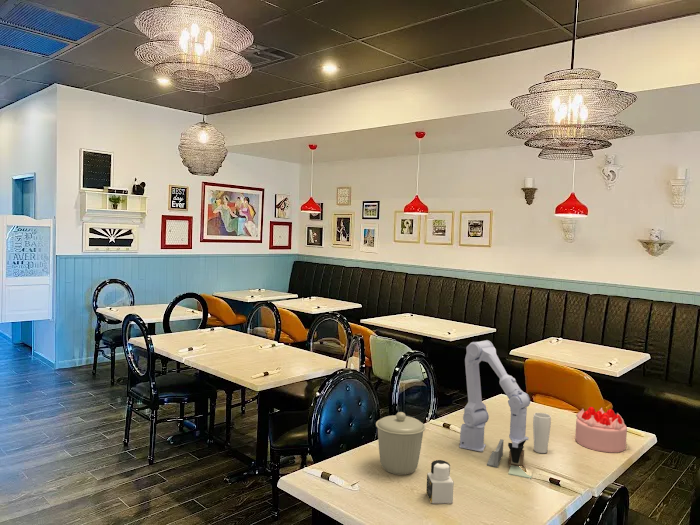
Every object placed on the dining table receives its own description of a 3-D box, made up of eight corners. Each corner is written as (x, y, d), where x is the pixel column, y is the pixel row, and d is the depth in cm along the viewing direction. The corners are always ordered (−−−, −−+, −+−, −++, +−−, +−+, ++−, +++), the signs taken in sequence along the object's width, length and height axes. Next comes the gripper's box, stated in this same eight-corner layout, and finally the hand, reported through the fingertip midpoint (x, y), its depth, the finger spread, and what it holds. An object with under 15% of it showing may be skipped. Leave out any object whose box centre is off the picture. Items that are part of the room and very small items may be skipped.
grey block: (486, 465, 201) (487, 449, 201) (492, 452, 214) (493, 437, 214) (497, 467, 200) (498, 451, 199) (502, 454, 212) (503, 439, 212)
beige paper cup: (550, 455, 213) (552, 418, 212) (532, 453, 214) (534, 416, 214) (547, 449, 220) (549, 413, 219) (530, 447, 221) (532, 411, 220)
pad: (508, 474, 194) (508, 473, 194) (511, 466, 202) (511, 465, 202) (531, 478, 191) (531, 477, 191) (533, 470, 198) (533, 469, 198)
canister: (427, 463, 201) (430, 408, 200) (417, 483, 184) (420, 423, 183) (381, 455, 207) (383, 402, 206) (368, 474, 190) (370, 416, 189)
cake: (620, 457, 214) (622, 422, 213) (568, 444, 226) (570, 411, 225) (629, 443, 230) (631, 411, 229) (580, 432, 242) (582, 401, 241)
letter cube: (508, 465, 202) (509, 451, 202) (510, 460, 207) (510, 447, 207) (522, 467, 200) (522, 454, 200) (523, 462, 205) (524, 449, 205)
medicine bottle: (426, 493, 177) (427, 457, 177) (447, 493, 178) (448, 457, 177) (431, 503, 170) (432, 467, 170) (452, 503, 171) (454, 467, 170)
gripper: (527, 432, 195) (525, 469, 195) (530, 420, 208) (529, 455, 209) (507, 429, 198) (505, 465, 198) (512, 417, 211) (510, 451, 211)
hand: (516, 459), depth 204 cm, fingers closed on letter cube, 5 cm apart
